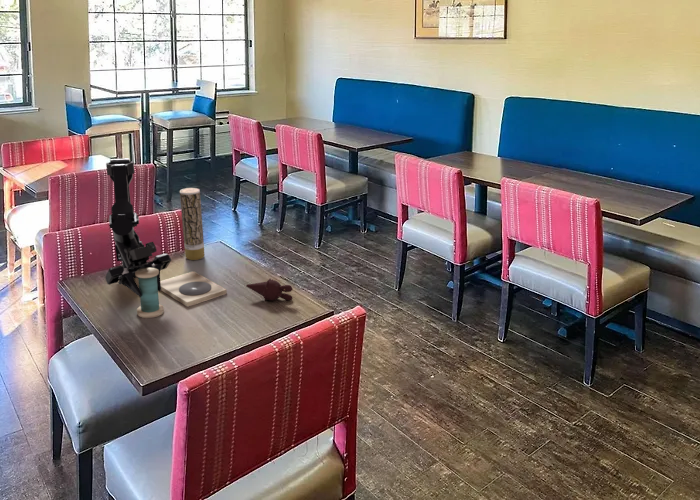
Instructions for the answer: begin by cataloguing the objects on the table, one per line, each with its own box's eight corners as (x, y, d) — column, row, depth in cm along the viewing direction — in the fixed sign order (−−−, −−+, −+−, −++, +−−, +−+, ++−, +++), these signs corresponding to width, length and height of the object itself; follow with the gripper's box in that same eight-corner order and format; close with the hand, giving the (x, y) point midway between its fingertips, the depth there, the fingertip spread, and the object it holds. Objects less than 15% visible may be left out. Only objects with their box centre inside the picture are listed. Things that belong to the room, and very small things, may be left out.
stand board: (155, 286, 209) (154, 281, 208) (193, 275, 218) (193, 270, 217) (187, 306, 196) (187, 301, 195) (226, 293, 205) (226, 288, 204)
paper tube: (200, 261, 230) (194, 193, 221) (182, 260, 231) (176, 192, 222) (207, 254, 236) (202, 188, 227) (190, 253, 237) (184, 187, 228)
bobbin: (132, 311, 192) (128, 271, 187) (156, 304, 197) (152, 264, 192) (144, 320, 187) (140, 279, 182) (168, 312, 192) (165, 272, 187)
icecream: (241, 284, 196) (288, 292, 194) (249, 269, 202) (295, 277, 200) (242, 301, 200) (289, 310, 198) (250, 286, 206) (296, 295, 204)
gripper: (104, 242, 180) (127, 290, 176) (165, 227, 192) (187, 272, 189) (96, 260, 188) (117, 307, 185) (155, 245, 200) (176, 289, 197)
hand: (150, 293), depth 188 cm, fingers closed on bobbin, 6 cm apart
